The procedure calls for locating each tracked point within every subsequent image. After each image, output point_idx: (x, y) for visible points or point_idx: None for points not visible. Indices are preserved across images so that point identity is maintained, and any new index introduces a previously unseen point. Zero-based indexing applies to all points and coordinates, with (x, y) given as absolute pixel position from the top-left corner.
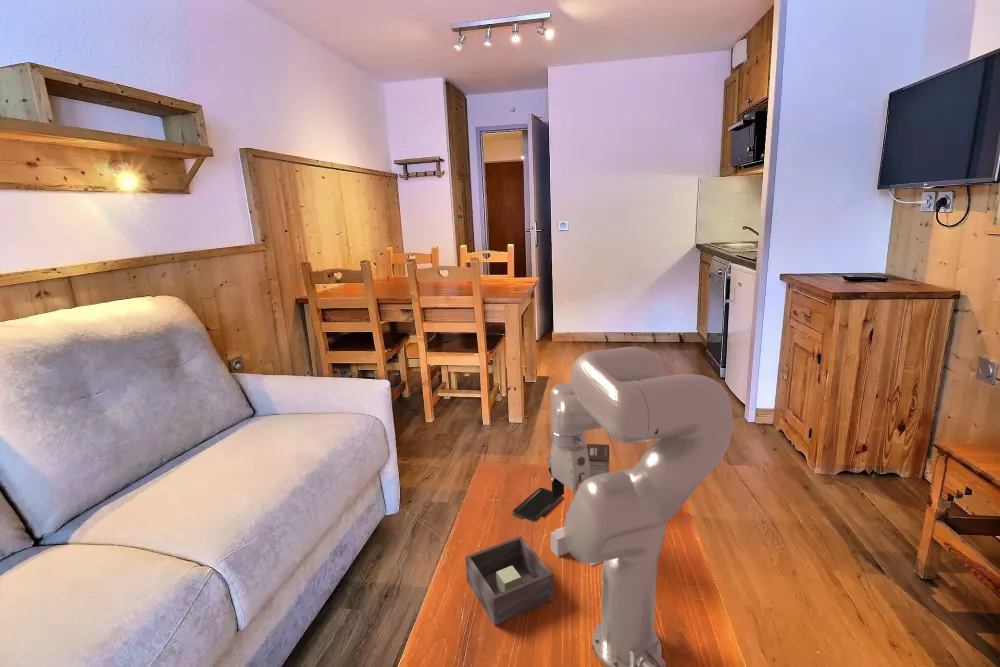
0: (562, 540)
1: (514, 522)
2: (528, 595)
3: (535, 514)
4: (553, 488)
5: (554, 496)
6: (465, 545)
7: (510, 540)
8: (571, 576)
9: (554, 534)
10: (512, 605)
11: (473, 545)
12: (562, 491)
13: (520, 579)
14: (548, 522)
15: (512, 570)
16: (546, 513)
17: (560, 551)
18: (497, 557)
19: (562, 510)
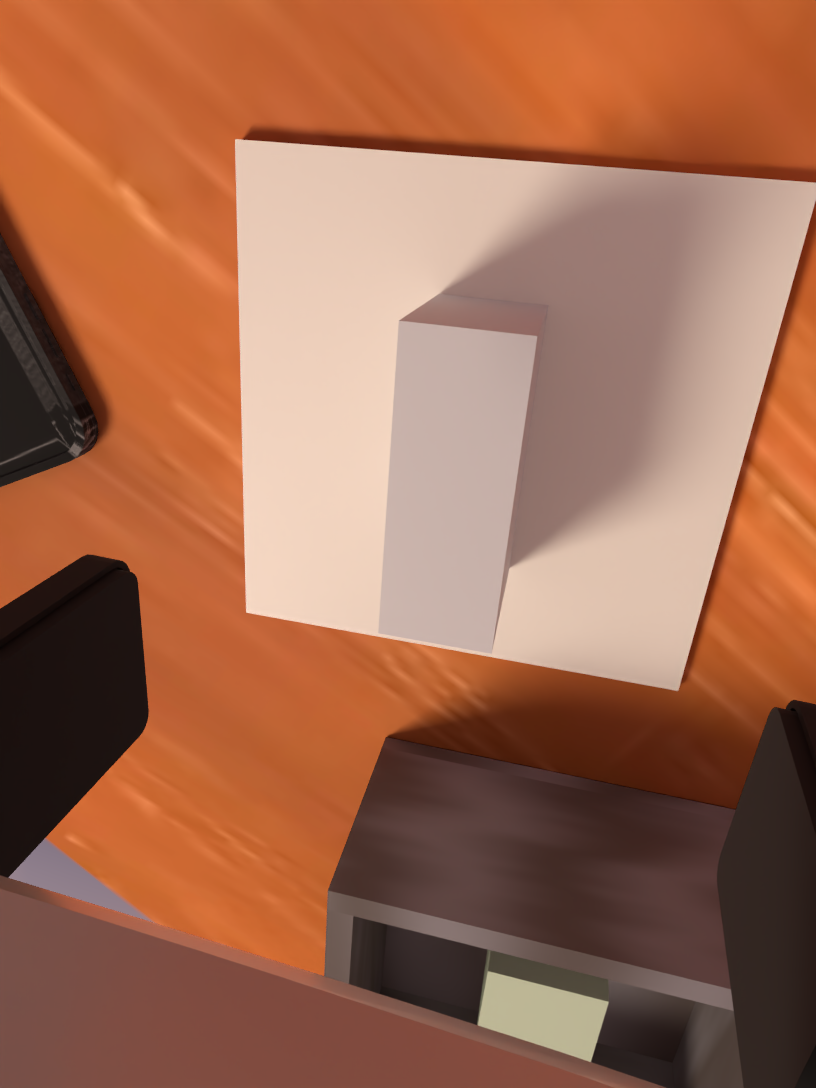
0: (501, 594)
1: (35, 539)
2: None
3: (11, 378)
4: (43, 828)
5: (139, 728)
6: (119, 846)
7: (332, 955)
8: (709, 607)
9: (417, 626)
10: None
11: (136, 822)
12: (101, 621)
13: (608, 989)
14: (128, 338)
15: (526, 994)
16: (20, 273)
17: (508, 565)
18: (366, 960)
19: (28, 108)
